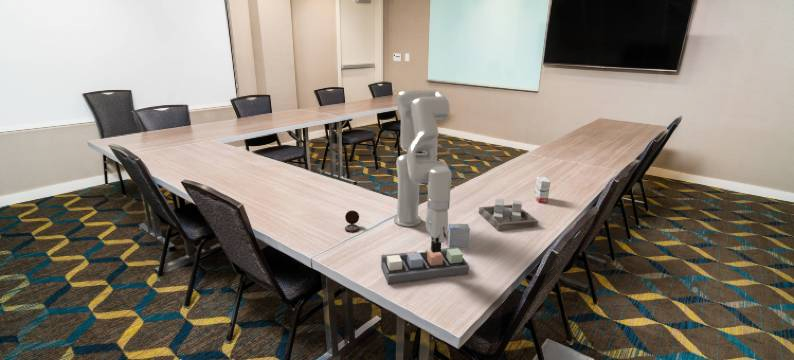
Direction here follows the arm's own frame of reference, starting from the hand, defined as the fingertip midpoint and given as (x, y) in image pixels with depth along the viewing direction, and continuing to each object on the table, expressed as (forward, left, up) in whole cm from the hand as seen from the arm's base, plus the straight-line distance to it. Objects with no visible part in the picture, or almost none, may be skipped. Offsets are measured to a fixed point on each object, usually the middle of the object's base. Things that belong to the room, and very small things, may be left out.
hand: (435, 251), depth 142 cm
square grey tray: (-34, +48, -8) cm, 59 cm away
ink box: (-53, +78, -8) cm, 94 cm away
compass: (-39, -23, -8) cm, 46 cm away
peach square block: (0, 0, -5) cm, 5 cm away
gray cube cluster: (-34, +47, -8) cm, 59 cm away
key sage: (0, +8, -5) cm, 9 cm away
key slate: (0, -7, -5) cm, 9 cm away
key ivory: (0, -15, -5) cm, 16 cm away
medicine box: (-16, +16, -8) cm, 24 cm away
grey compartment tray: (0, -4, -8) cm, 9 cm away
